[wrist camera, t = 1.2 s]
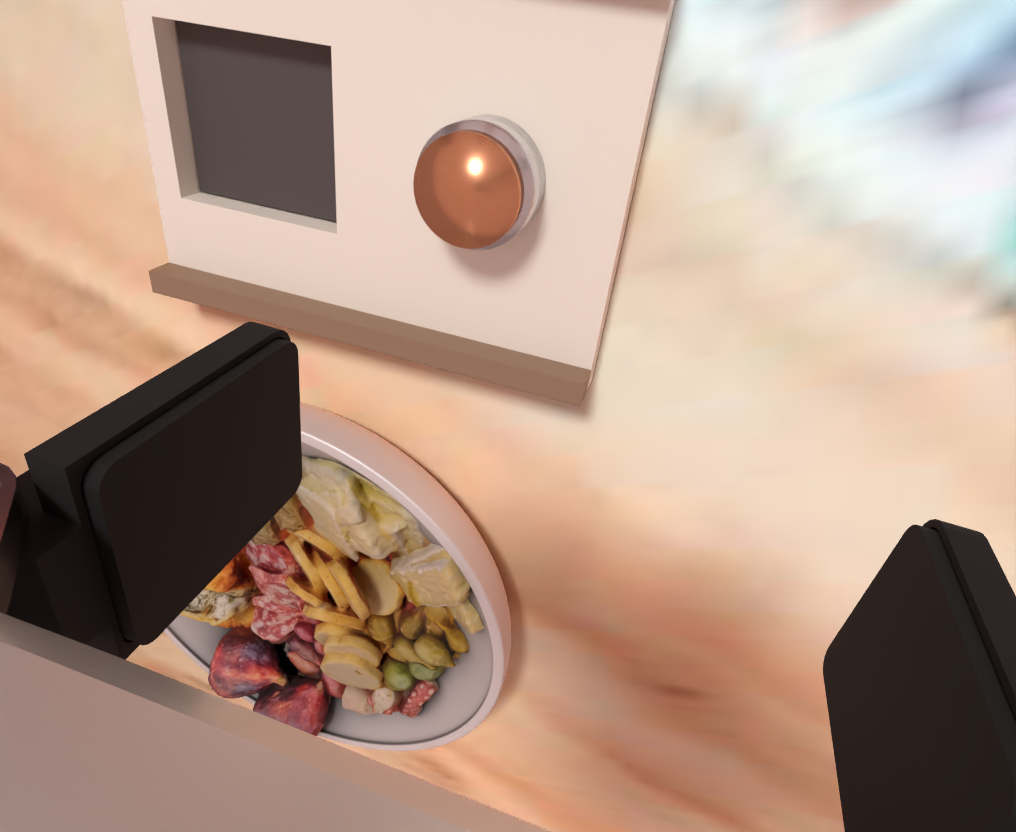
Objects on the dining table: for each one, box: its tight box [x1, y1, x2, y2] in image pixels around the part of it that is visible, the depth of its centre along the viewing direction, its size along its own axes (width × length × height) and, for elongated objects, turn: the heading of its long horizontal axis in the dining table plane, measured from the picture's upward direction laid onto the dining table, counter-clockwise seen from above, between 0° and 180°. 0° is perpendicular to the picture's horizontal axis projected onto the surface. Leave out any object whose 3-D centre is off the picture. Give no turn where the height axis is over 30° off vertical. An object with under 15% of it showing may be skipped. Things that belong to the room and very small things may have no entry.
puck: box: [413, 115, 546, 251], centre depth 26 cm, size 5×5×3 cm
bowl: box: [164, 403, 511, 751], centre depth 44 cm, size 30×30×8 cm
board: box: [122, 0, 675, 406], centre depth 29 cm, size 24×18×3 cm
